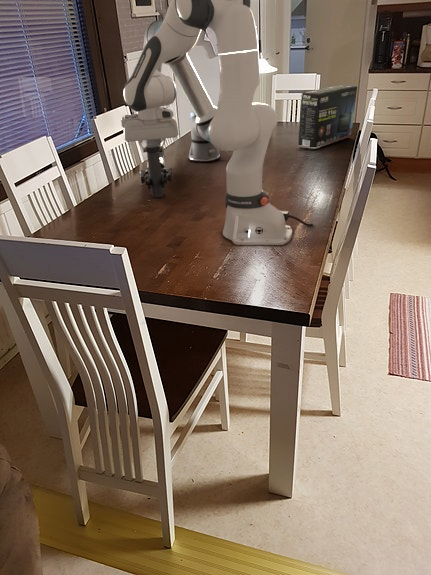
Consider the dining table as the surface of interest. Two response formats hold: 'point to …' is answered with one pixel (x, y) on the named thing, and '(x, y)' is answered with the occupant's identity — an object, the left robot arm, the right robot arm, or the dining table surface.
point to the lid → (152, 148)
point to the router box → (326, 115)
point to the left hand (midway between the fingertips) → (156, 185)
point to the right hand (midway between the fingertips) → (153, 151)
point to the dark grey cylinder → (155, 174)
